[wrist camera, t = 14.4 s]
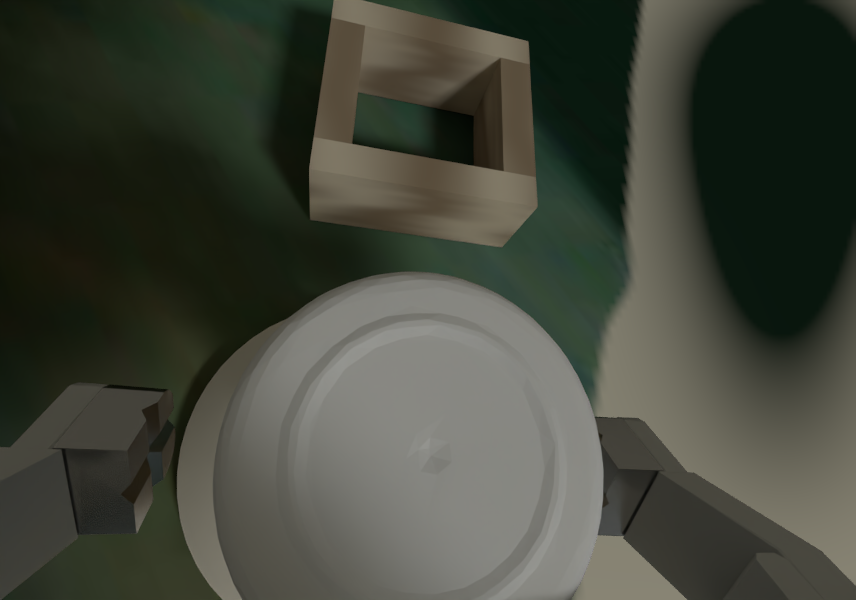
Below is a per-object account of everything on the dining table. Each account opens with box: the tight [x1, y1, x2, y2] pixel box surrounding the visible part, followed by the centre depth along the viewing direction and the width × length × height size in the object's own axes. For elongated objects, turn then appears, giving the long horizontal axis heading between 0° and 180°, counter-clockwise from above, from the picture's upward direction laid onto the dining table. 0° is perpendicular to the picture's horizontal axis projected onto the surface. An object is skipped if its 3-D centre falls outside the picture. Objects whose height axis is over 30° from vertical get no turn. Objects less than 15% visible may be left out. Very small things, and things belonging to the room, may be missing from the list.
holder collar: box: [309, 0, 537, 247], centre depth 22 cm, size 10×10×4 cm
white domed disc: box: [177, 318, 288, 600], centre depth 18 cm, size 12×12×1 cm
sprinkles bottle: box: [213, 272, 603, 600], centre depth 11 cm, size 5×5×14 cm
